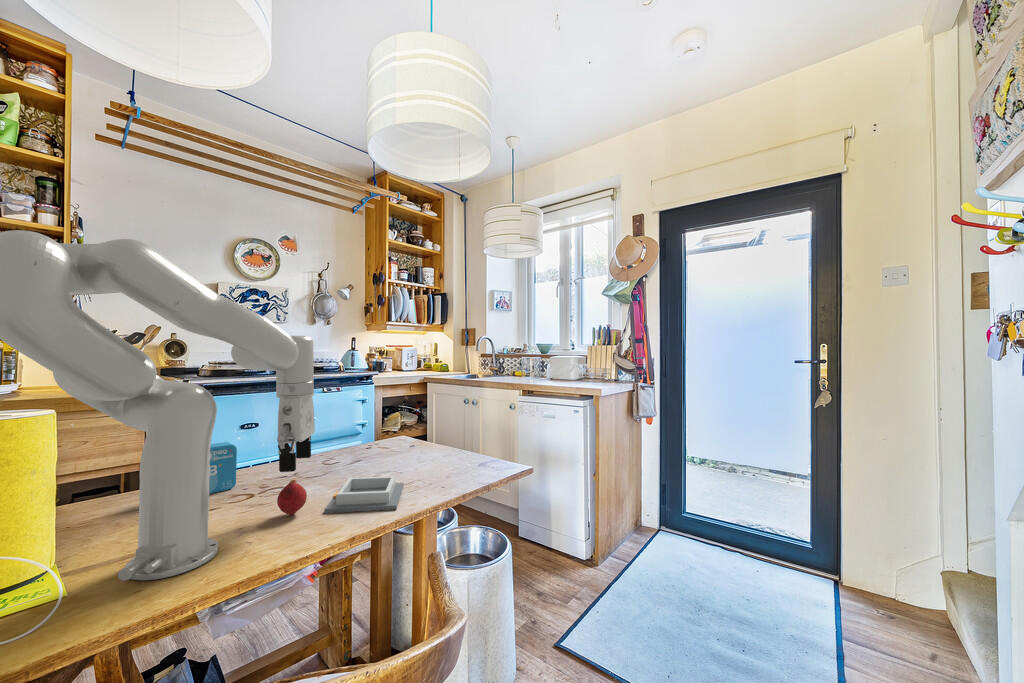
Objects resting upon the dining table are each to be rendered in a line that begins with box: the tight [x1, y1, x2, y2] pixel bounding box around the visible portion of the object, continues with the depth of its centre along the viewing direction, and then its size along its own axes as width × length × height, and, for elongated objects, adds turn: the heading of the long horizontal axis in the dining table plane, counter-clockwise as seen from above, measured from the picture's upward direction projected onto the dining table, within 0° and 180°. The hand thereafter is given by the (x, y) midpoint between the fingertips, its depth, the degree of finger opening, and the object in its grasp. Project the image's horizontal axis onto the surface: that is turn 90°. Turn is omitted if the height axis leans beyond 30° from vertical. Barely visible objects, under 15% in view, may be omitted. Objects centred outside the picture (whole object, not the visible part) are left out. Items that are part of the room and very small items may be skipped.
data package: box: [209, 441, 238, 495], centre depth 104 cm, size 12×4×12 cm, turn 138°
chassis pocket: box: [324, 475, 405, 514], centre depth 101 cm, size 16×16×4 cm
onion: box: [276, 478, 308, 516], centre depth 91 cm, size 6×6×8 cm
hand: (296, 464), depth 92 cm, fingers open, 9 cm apart
